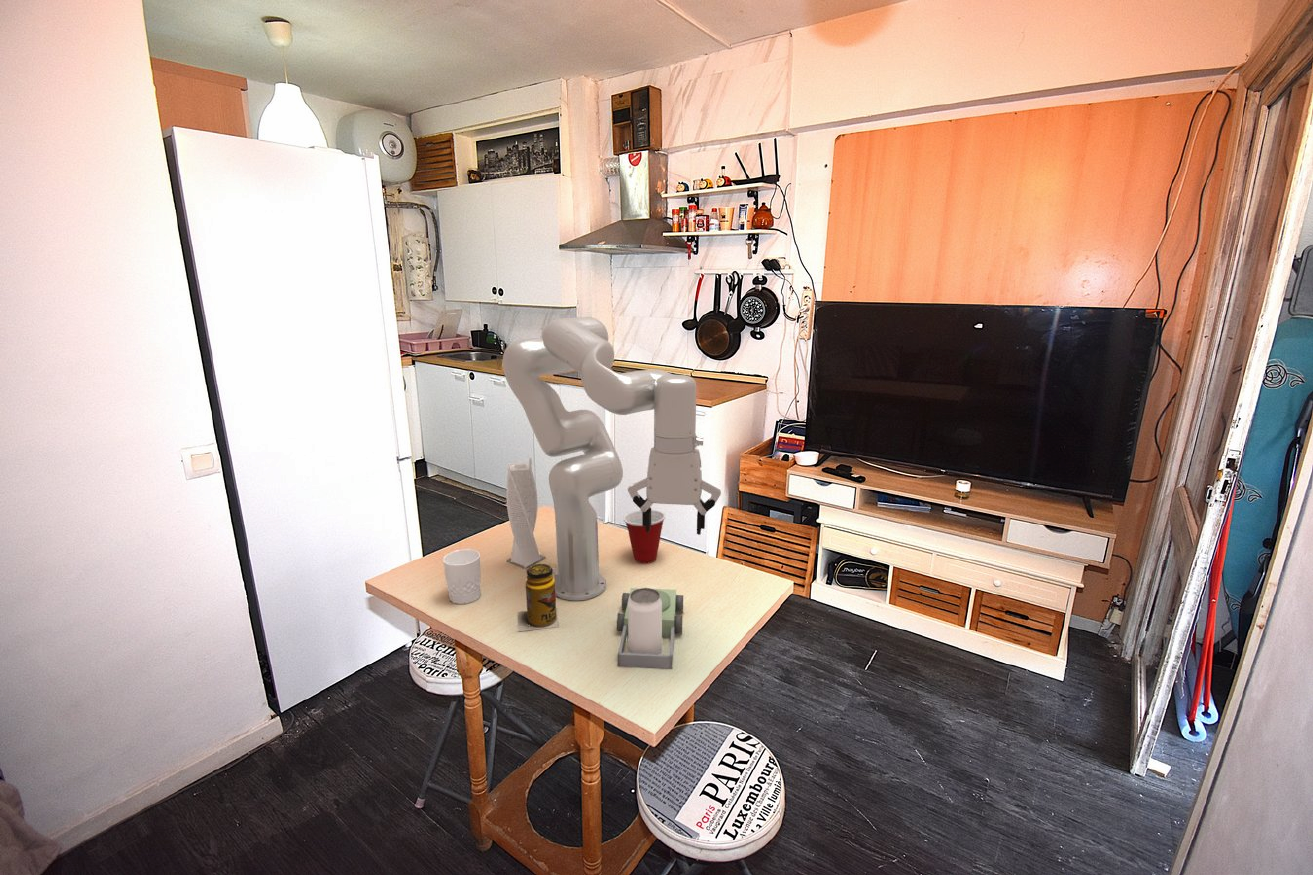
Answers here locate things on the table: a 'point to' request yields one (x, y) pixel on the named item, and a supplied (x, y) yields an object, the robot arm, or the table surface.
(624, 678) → the table surface
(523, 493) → the skyscraper
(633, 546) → the plastic cup
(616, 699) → the table surface
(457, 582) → the white cup
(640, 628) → the can
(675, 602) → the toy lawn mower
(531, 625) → the condiment
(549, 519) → the table surface
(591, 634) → the table surface
